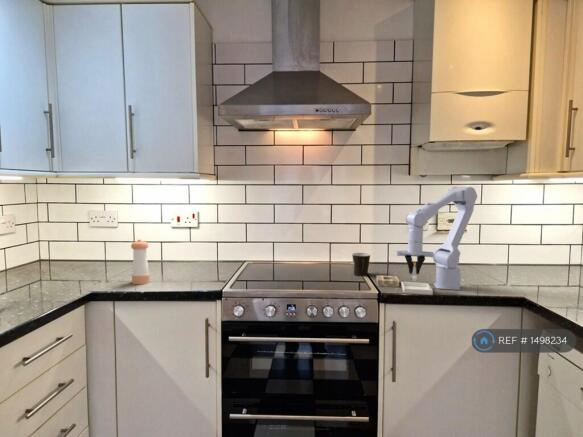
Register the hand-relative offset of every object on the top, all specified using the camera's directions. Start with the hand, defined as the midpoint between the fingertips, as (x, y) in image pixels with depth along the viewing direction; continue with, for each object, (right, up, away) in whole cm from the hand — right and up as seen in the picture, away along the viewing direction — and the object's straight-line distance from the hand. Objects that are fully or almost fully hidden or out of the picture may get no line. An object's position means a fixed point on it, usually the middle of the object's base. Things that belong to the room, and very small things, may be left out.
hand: (414, 273), depth 155 cm
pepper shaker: (-118, -6, +10) cm, 119 cm away
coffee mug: (-18, -5, +26) cm, 32 cm away
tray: (+1, -7, 0) cm, 7 cm away
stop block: (-8, -6, +10) cm, 15 cm away
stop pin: (0, -3, 0) cm, 3 cm away
